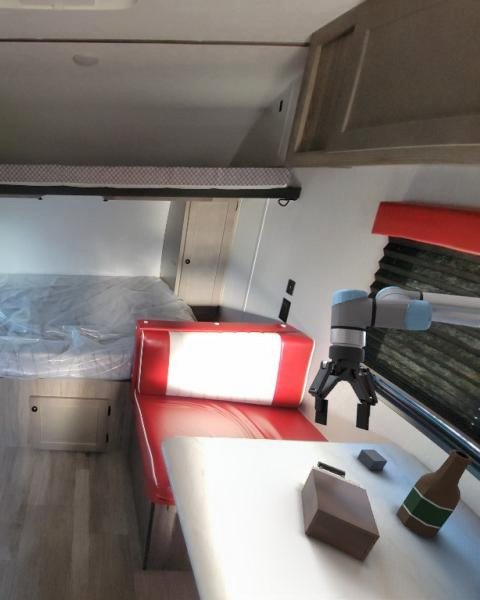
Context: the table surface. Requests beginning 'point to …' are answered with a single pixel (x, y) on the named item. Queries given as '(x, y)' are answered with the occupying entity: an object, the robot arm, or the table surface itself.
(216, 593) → the table surface
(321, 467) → the drawer
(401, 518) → the beer bottle
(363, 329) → the robot arm
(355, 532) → the cabinet
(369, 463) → the block
